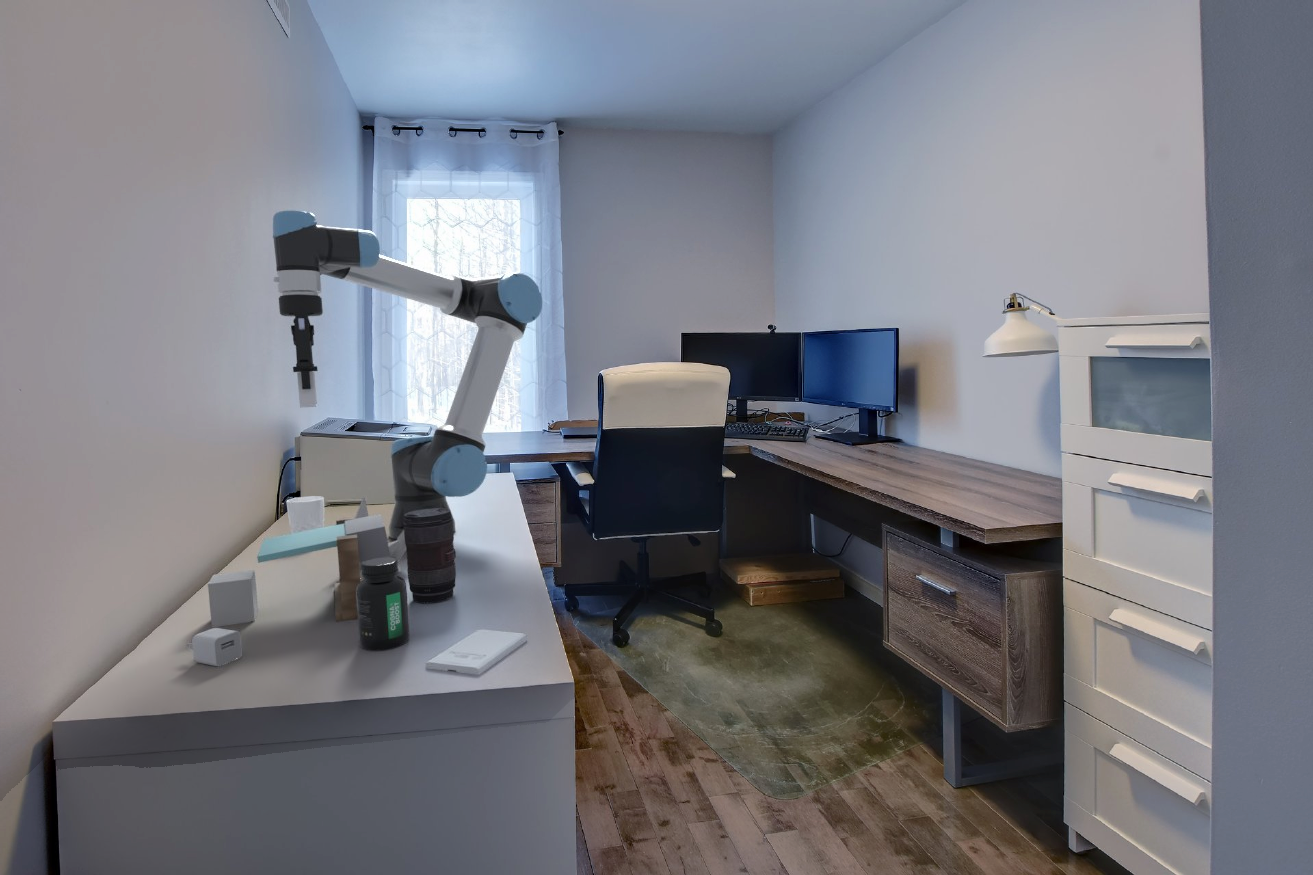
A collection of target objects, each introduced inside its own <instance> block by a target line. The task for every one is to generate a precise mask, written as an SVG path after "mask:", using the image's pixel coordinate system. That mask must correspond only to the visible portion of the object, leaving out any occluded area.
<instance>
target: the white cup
mask: <svg viewBox="0 0 1313 875" xmlns="http://www.w3.org/2000/svg"><path fill="white" fill-rule="evenodd" d="M286 507H287V508H286V509H287V515H288V522H289V523H288V524H289V528H290V532H291V533H290V534H292V533H297V532H302V531H307V530H312V529H317V528H322V527H325V497H323V496H319V495H318V496H317V495H311V496H310V495H309V496H308V495H307V496H301V497H300V496H299V497H294V498H290V499H287V500H286Z"/></svg>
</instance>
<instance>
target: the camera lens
mask: <svg viewBox="0 0 1313 875" xmlns="http://www.w3.org/2000/svg"><path fill="white" fill-rule="evenodd" d="M451 513H452V511H451V508H450V509H446V508H432V509H422V510H416V511H412V512H408V513H406V514H405V515H404V516H405V518H404V523H403V524H404V537H405V545H406V561H407V564H406V565H407V580H408V586H409V591H410V592H411V594H412V600H413V601H414V602H415V603H419V604H436V603H442V602H445V601H447V600H450V599H451V598H453V596H454V588H455V587H456V578H457V571H456V568H457V567H456V562H455V559H456V558H457V557H456V554H457V552H456V550H457V549H456V548H454V539H455V538H454V536H455V534H454V533H455V531H454V529H453V518H454V517H453V518H452V515H453V514H452V515H451Z"/></svg>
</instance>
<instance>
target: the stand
mask: <svg viewBox="0 0 1313 875" xmlns="http://www.w3.org/2000/svg"><path fill="white" fill-rule="evenodd" d="M352 519H355V516H345V517H337V518H335V521H336V524H335V525H338V524H343V523H345V521H347V520H352ZM336 548H337V558H338V559H337V560H338V572H339V574H338V576H339V582H335V583H334V599H335V600H334V603H335V604H334V607H335V611H334V612H335V613H334V614H335V622H340V620H342V621H347V620H346V619H349V620H354V619H358V614H357V600H356V588H357V586H358V584H359V583H360V582H361V581H362V580H364V579H360V568H359V554H358V540H357V535H347V536H338V537H337V547H336Z"/></svg>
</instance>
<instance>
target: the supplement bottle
mask: <svg viewBox="0 0 1313 875" xmlns="http://www.w3.org/2000/svg"><path fill="white" fill-rule="evenodd" d="M398 566H399V563H398V564H397V560H396V559H395V558H375V559H371V560H367V561H365V562H363V563H362V577H364V580H363V579H361V580H362V581H361V582H360V583H359V584H358V586H357V588H356V600H357V614H358V618H357V623H358V624H357V625H358V637H359V640H358V641H359V645H360V646H361V647H362V648H363V649H364V650H369V651H386V650H390V649H395V648H398V647H400V646H403V645H405V644H406V643H407V642H408V640H409V638H410V622H409V621H410V620H409V606H408V592H407V591H408V590H407V583H406V581H405V579H404V578H403V577H401V576H399V575H398V573H399V571H398Z"/></svg>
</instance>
